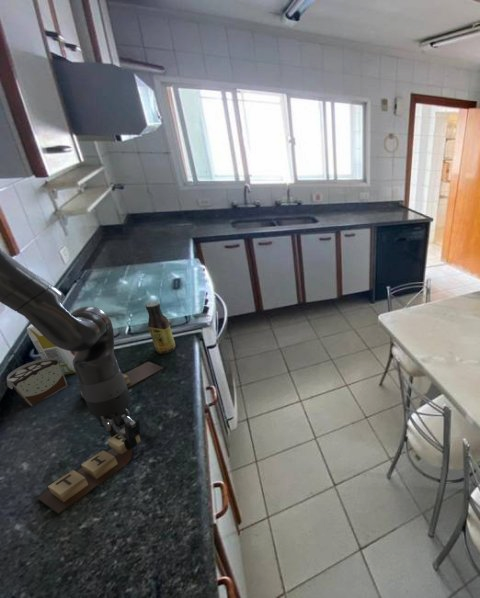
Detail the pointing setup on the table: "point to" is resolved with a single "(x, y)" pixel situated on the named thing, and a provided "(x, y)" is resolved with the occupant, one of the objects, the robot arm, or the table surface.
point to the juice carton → (52, 350)
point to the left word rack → (83, 479)
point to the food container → (37, 380)
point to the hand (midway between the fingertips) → (125, 443)
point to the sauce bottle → (160, 329)
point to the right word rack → (139, 374)
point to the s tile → (119, 443)
